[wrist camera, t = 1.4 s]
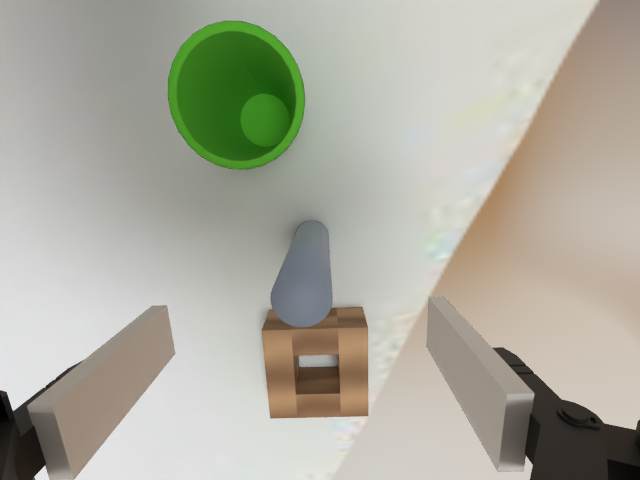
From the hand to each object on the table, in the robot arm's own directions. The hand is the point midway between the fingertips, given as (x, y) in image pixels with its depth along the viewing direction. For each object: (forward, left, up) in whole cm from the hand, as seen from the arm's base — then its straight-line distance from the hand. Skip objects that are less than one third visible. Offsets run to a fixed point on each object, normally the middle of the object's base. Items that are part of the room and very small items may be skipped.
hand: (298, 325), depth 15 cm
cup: (-12, -4, -19) cm, 23 cm away
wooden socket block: (+14, 0, -19) cm, 23 cm away
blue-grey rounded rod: (0, 0, -19) cm, 19 cm away
